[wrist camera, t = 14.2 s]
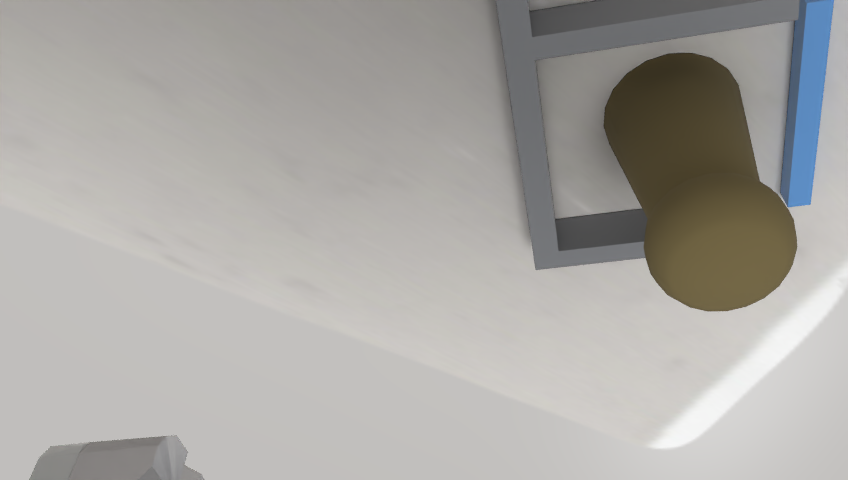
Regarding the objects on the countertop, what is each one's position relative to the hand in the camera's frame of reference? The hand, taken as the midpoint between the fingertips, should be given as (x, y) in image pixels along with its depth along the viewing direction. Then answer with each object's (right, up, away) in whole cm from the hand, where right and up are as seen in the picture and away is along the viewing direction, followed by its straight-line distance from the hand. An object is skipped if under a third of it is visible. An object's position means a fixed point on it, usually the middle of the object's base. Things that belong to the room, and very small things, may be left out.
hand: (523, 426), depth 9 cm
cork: (+10, +8, +27) cm, 30 cm away
